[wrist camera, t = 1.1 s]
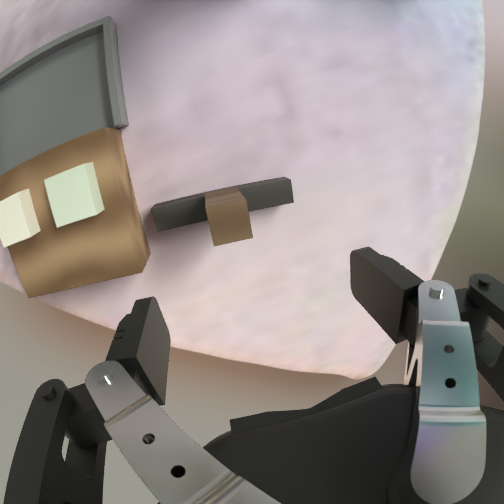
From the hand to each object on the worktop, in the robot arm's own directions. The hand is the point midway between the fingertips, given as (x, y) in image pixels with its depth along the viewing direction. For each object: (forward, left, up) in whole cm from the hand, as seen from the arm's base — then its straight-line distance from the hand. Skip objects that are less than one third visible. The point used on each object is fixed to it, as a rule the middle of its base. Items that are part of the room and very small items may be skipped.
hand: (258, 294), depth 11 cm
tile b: (-5, -13, -15) cm, 21 cm away
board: (-3, -17, -20) cm, 26 cm away
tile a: (-5, -21, -15) cm, 26 cm away
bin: (-17, -17, -20) cm, 31 cm away
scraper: (0, 0, -20) cm, 20 cm away
